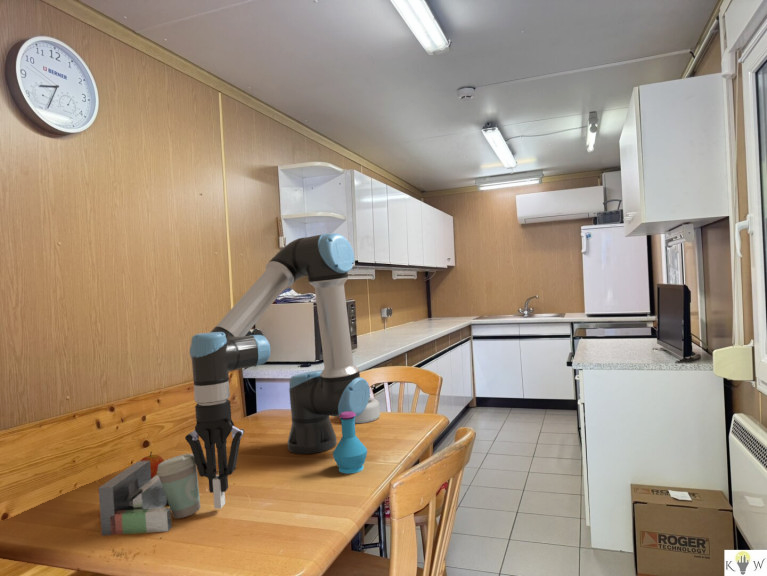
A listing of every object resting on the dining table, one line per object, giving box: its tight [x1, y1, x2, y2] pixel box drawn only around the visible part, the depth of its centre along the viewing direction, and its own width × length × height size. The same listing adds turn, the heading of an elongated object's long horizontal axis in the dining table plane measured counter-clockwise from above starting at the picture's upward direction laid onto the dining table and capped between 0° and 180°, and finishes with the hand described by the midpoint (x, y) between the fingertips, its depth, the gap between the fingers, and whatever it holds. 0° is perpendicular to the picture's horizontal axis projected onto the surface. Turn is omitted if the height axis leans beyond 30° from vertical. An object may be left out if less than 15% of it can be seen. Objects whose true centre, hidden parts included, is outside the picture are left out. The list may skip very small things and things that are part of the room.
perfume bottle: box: [332, 411, 368, 474], centre depth 133 cm, size 9×9×15 cm
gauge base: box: [98, 460, 173, 536], centre depth 112 cm, size 14×16×10 cm
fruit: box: [139, 451, 165, 479], centre depth 134 cm, size 7×7×8 cm
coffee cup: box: [157, 453, 201, 519], centre depth 112 cm, size 9×8×12 cm
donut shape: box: [339, 397, 381, 425], centre depth 185 cm, size 15×15×7 cm
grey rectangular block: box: [127, 475, 168, 510], centre depth 111 cm, size 9×14×7 cm, turn 179°
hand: (220, 505), depth 112 cm, fingers closed
